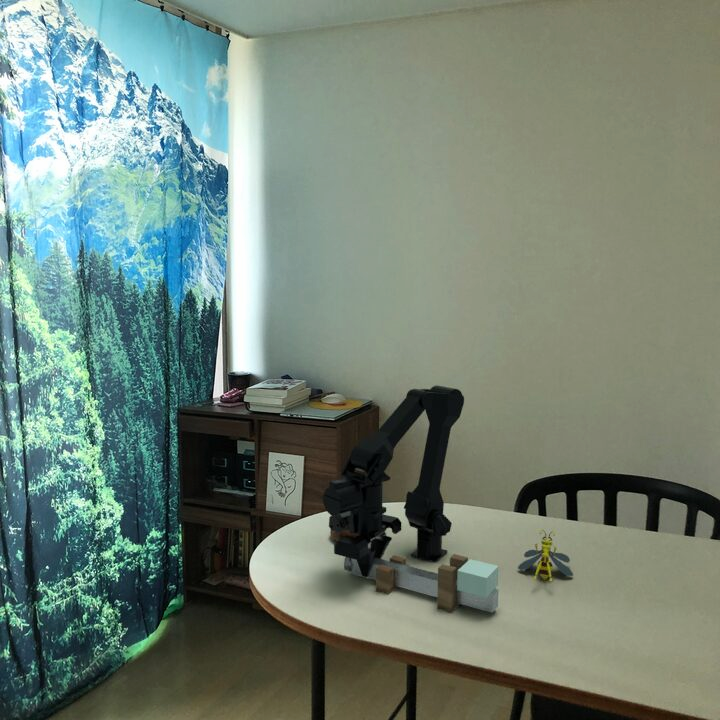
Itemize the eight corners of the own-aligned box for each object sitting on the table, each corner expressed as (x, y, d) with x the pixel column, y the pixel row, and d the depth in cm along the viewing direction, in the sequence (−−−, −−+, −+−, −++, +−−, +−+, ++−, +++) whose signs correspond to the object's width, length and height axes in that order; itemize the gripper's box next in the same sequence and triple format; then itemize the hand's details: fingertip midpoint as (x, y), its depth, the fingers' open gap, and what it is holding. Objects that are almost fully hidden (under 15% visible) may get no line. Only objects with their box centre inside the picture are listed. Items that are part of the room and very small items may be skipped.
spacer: (469, 578, 142) (469, 559, 142) (497, 585, 139) (498, 566, 138) (457, 590, 137) (457, 570, 137) (486, 597, 134) (486, 577, 133)
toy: (514, 557, 145) (521, 524, 159) (513, 594, 147) (520, 558, 161) (573, 565, 142) (575, 531, 156) (571, 602, 144) (573, 565, 158)
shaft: (353, 566, 156) (353, 549, 155) (498, 606, 138) (499, 587, 138) (343, 573, 153) (343, 556, 152) (491, 615, 135) (491, 595, 134)
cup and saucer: (322, 544, 170) (322, 520, 170) (342, 526, 181) (342, 503, 180) (368, 552, 166) (368, 527, 165) (386, 533, 177) (386, 510, 176)
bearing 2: (453, 593, 146) (454, 553, 144) (466, 596, 144) (467, 557, 143) (437, 608, 139) (437, 567, 138) (451, 612, 138) (452, 571, 136)
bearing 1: (393, 576, 153) (394, 554, 152) (406, 580, 151) (406, 558, 151) (376, 591, 146) (376, 568, 146) (388, 594, 145) (388, 571, 144)
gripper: (359, 485, 161) (359, 549, 164) (312, 510, 146) (312, 581, 148) (402, 493, 155) (402, 560, 158) (357, 520, 140) (358, 594, 142)
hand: (368, 573), depth 152 cm, fingers closed on shaft, 3 cm apart
